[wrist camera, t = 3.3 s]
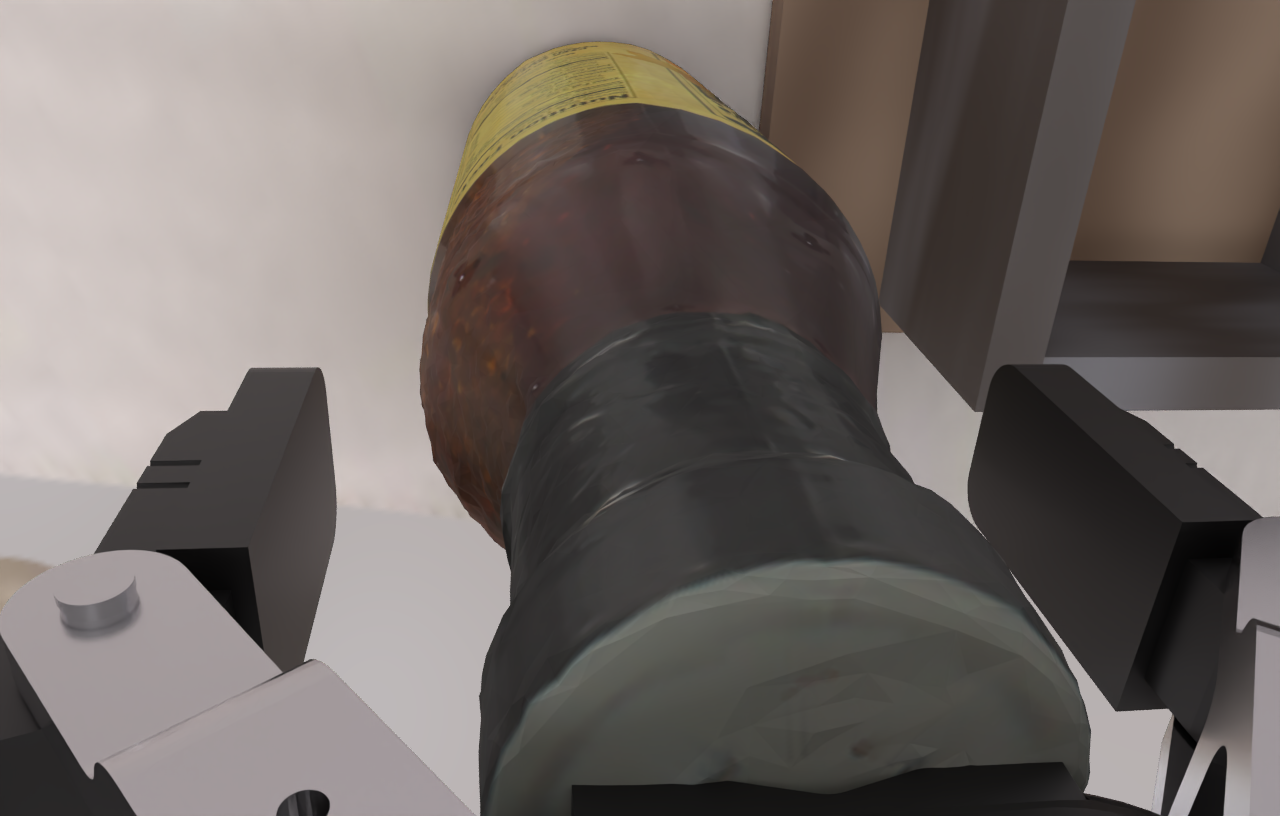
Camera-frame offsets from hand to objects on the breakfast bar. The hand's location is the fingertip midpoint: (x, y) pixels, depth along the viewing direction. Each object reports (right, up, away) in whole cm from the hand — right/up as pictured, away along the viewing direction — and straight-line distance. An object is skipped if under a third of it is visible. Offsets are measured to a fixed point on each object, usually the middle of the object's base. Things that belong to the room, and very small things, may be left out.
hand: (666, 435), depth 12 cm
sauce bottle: (-1, +6, +12) cm, 14 cm away
